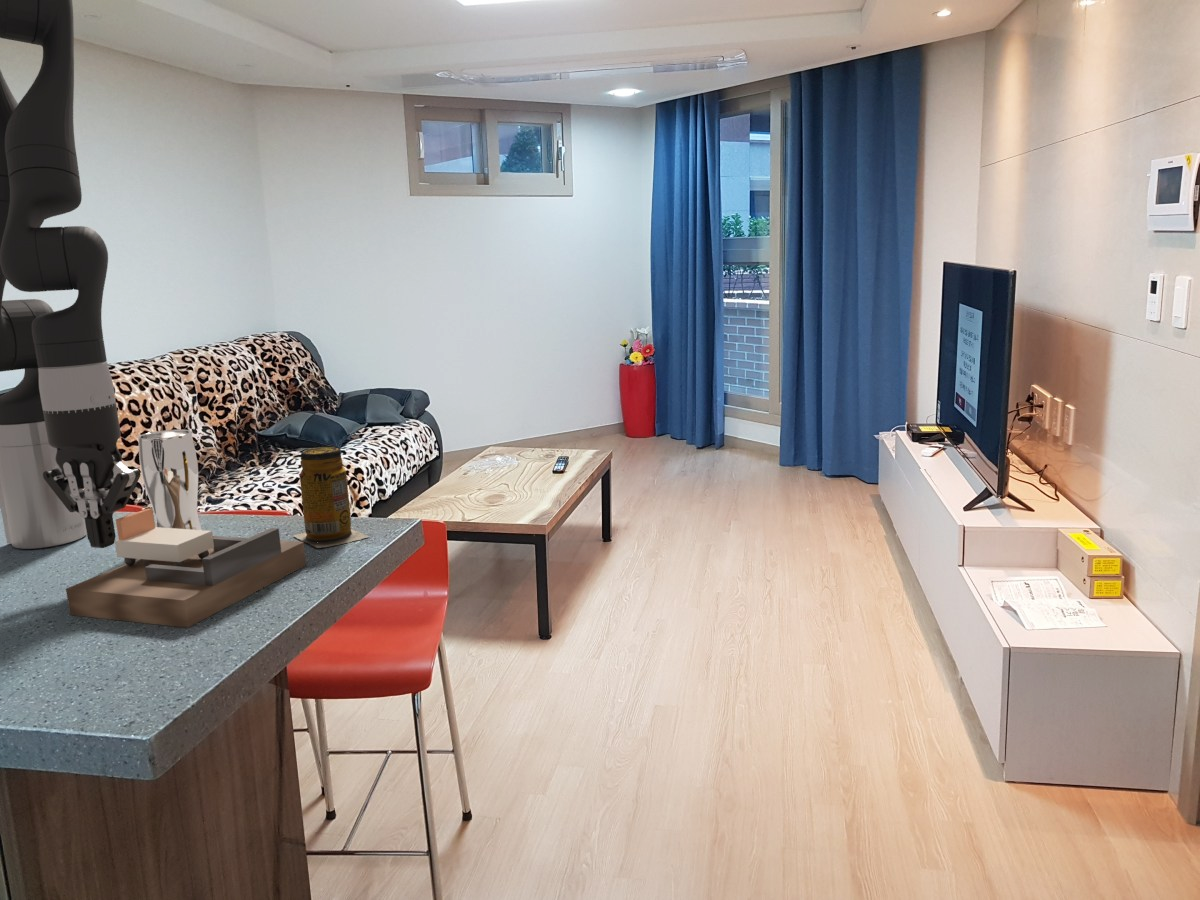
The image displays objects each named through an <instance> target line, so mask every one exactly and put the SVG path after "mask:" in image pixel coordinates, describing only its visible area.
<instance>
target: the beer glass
mask: <svg viewBox="0 0 1200 900" xmlns="http://www.w3.org/2000/svg"><path fill="white" fill-rule="evenodd" d="M192 434H193V433H192V431H191V430H190V429H167V430H157V431H151V432H147V433H142V434H140V435H139V436H137V440H138V456H139V457H138V458H139V459H138V460H139V466H140V467H139V468H140V475H141V479H142V482H143V485H144V488H145V491H146V494H147V497H148V499H149V504H150V505H151V509H153V515H154V522H155V527H162V528H176V529H191V530H203V529H202V527H201V526H202V525H201V522H200V520H199V516H198V494H199V493H198V492H199V491H198V490H199V465H198V458H197V451H196V447H195V444H194V443H195V442H194V439H193V435H192Z"/></svg>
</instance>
